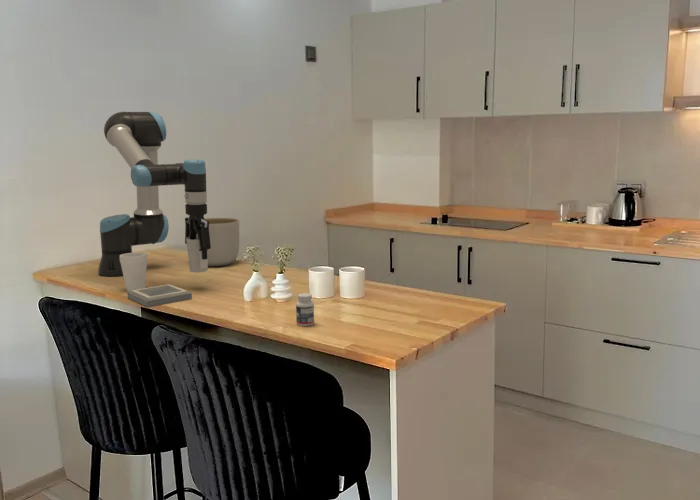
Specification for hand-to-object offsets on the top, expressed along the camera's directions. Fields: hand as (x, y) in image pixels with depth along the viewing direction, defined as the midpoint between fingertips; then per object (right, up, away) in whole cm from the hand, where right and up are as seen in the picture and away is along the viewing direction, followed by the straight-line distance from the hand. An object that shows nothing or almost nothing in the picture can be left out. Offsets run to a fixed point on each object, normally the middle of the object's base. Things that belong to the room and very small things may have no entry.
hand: (198, 265), depth 236 cm
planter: (-3, -1, +47) cm, 48 cm away
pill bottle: (+42, -16, -43) cm, 62 cm away
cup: (0, -2, 0) cm, 2 cm away
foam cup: (-23, -9, +1) cm, 25 cm away
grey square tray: (-10, -11, -12) cm, 19 cm away
